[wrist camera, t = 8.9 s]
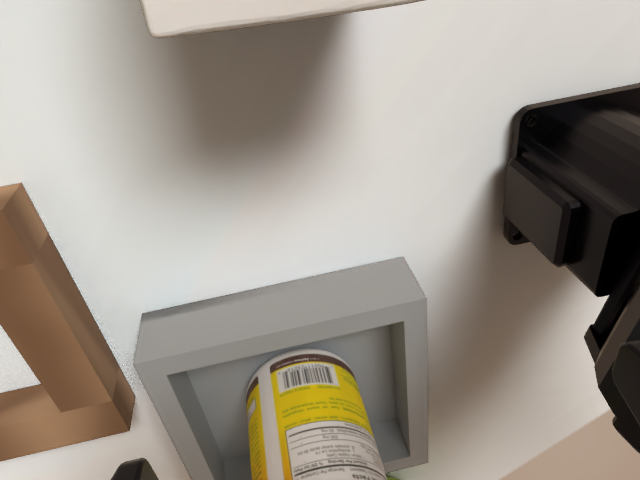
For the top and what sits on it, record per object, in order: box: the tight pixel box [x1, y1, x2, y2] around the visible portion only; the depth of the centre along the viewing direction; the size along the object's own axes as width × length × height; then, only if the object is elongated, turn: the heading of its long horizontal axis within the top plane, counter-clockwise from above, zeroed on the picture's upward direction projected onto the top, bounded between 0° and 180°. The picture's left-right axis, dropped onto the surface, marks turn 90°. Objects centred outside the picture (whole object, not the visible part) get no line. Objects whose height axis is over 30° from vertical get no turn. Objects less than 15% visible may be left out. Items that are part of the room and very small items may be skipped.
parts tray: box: [133, 257, 428, 480], centre depth 24 cm, size 12×12×3 cm
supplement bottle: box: [246, 348, 387, 480], centre depth 21 cm, size 6×6×10 cm
